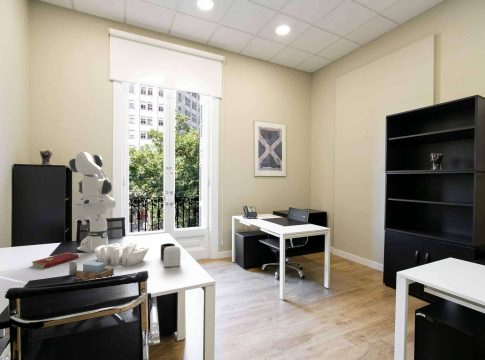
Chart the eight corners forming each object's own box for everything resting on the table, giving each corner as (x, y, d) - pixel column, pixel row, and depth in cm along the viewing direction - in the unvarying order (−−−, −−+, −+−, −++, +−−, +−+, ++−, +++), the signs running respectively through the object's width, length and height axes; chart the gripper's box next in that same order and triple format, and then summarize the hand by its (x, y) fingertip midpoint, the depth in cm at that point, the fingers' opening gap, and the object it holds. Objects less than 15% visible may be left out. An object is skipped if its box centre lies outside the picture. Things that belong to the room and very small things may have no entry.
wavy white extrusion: (86, 264, 157) (86, 248, 157) (102, 256, 174) (102, 241, 174) (139, 266, 155) (140, 249, 155) (151, 258, 172) (151, 243, 171)
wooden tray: (113, 276, 140) (113, 268, 140) (99, 282, 131) (99, 274, 131) (90, 272, 144) (90, 265, 144) (75, 279, 135) (75, 270, 135)
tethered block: (104, 276, 139) (104, 263, 139) (97, 279, 134) (97, 266, 134) (74, 271, 145) (74, 259, 145) (66, 275, 140) (66, 261, 140)
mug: (172, 261, 165) (172, 247, 165) (157, 259, 169) (157, 246, 169) (180, 257, 174) (180, 244, 174) (166, 255, 178) (166, 242, 178)
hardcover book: (78, 260, 167) (78, 254, 167) (43, 271, 147) (43, 263, 147) (67, 258, 171) (67, 251, 171) (31, 268, 152) (31, 261, 152)
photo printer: (180, 264, 160) (180, 245, 160) (180, 266, 156) (180, 246, 156) (163, 265, 158) (163, 245, 158) (163, 267, 154) (163, 247, 153)
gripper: (100, 199, 162) (100, 220, 162) (71, 201, 142) (71, 225, 142) (108, 199, 160) (108, 220, 160) (79, 201, 141) (80, 226, 141)
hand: (91, 223), depth 151 cm, fingers open, 8 cm apart
